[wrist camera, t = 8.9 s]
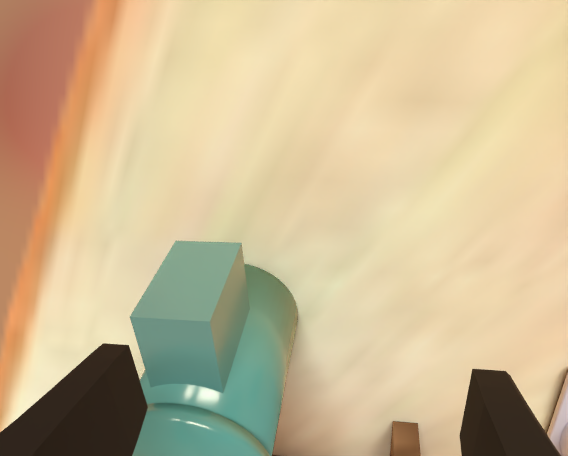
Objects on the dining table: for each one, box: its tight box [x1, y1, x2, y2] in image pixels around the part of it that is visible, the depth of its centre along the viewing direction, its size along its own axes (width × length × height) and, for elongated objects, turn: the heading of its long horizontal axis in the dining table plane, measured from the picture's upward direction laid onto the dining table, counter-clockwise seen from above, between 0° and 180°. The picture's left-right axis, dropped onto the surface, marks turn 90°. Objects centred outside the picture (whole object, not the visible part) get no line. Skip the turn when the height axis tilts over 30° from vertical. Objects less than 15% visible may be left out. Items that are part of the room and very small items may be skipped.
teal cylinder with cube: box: [130, 241, 298, 456], centre depth 18 cm, size 6×8×8 cm
